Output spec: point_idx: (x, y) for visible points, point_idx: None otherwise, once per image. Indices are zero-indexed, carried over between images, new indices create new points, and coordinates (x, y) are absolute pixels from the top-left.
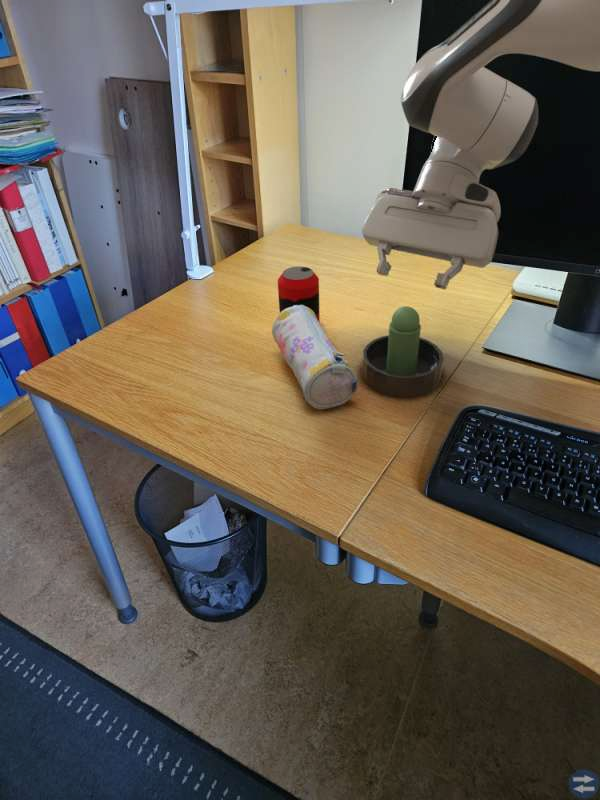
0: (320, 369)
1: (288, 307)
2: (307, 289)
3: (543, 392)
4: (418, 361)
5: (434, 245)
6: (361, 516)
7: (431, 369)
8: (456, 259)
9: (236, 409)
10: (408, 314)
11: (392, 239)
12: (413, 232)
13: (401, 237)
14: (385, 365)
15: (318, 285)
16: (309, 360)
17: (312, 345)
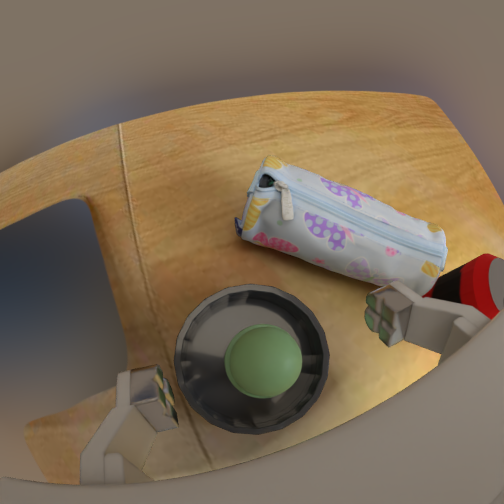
0: (266, 158)
1: (457, 268)
2: (471, 284)
3: None
4: (253, 406)
5: (245, 484)
6: (114, 143)
7: (219, 404)
8: (100, 476)
9: (323, 148)
10: (250, 349)
11: (476, 343)
12: (449, 443)
13: (463, 375)
14: None
15: None
16: (305, 171)
17: (334, 191)
